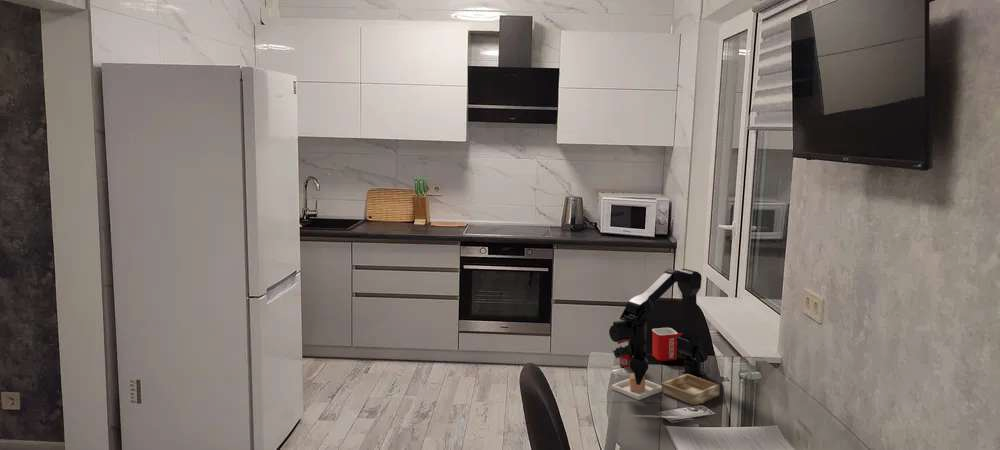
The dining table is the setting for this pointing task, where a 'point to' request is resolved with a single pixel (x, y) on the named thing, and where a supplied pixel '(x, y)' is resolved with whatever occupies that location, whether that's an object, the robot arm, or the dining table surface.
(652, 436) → the dining table surface
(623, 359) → the beverage can
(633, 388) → the clay block
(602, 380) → the dining table surface
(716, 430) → the dining table surface
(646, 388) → the tray
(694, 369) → the robot arm
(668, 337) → the mug
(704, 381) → the wooden bin
